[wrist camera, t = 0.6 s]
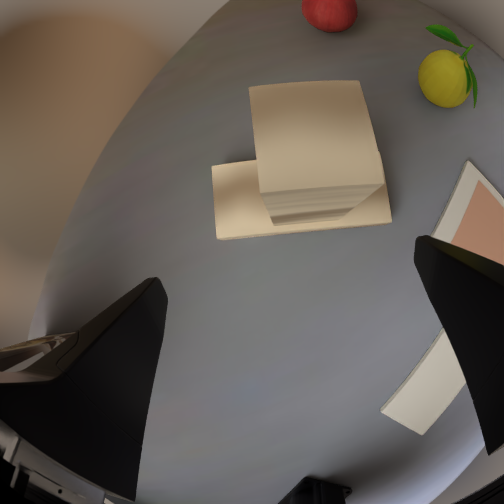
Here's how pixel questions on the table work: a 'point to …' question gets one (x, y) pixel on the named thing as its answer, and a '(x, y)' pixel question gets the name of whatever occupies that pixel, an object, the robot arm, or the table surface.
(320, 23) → the onion
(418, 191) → the table surface
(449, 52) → the lemon
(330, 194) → the birch tee block
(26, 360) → the coffee box
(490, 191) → the tee mat
